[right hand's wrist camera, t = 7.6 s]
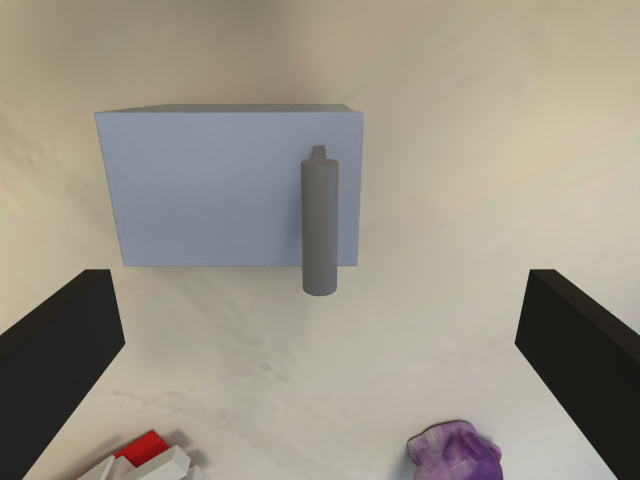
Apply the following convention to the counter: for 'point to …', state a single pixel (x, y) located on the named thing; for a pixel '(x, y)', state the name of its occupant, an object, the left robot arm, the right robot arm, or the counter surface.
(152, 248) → the lid
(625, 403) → the right robot arm
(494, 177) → the counter surface
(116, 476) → the toy
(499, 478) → the figurine
